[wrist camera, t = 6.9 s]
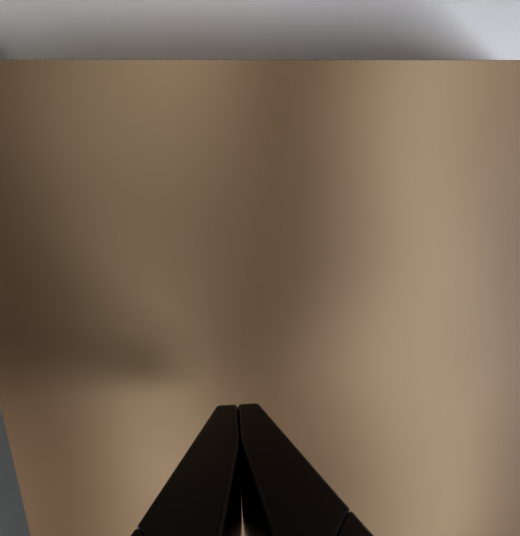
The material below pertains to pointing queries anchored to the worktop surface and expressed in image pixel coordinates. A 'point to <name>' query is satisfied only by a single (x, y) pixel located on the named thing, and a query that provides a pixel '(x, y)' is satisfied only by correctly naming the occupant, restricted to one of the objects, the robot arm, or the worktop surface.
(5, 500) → the mat
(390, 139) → the deck
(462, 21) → the worktop surface
